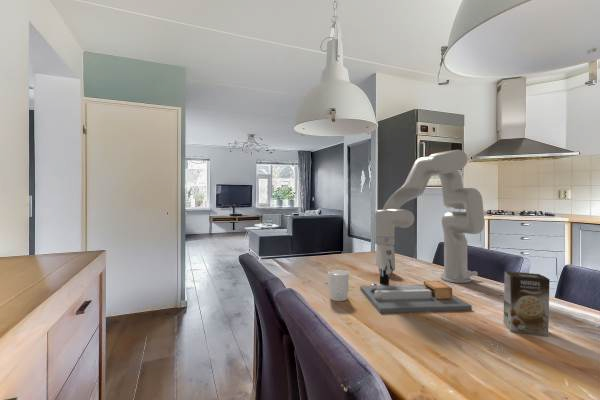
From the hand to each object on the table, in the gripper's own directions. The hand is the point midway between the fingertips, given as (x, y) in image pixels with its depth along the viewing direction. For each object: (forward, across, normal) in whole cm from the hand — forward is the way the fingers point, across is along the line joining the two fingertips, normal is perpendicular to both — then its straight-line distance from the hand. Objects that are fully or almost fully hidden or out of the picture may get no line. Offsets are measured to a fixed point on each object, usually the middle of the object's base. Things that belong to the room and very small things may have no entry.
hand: (384, 286), depth 117 cm
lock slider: (+1, -8, -18) cm, 19 cm away
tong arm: (+1, -4, -4) cm, 5 cm away
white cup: (+3, -4, +19) cm, 20 cm away
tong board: (+3, -7, -8) cm, 11 cm away
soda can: (+3, +30, -11) cm, 32 cm away
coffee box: (+3, -33, -30) cm, 45 cm away
